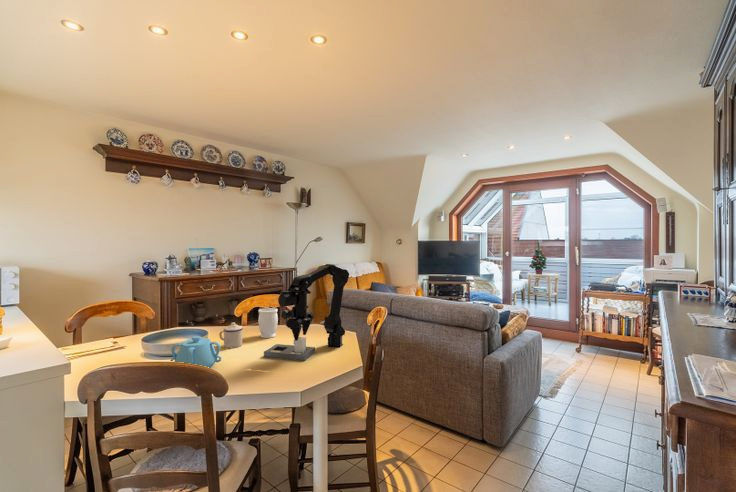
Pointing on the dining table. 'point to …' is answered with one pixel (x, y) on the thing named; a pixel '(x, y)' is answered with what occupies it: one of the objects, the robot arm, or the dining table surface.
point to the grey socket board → (288, 352)
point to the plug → (300, 345)
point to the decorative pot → (197, 352)
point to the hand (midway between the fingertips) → (300, 337)
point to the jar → (268, 322)
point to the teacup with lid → (232, 336)
